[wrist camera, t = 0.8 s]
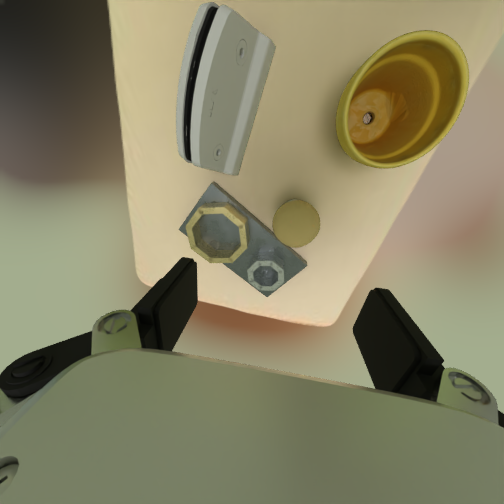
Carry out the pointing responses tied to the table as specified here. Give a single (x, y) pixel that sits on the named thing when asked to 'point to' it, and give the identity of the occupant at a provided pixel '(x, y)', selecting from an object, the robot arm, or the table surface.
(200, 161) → the white rounded block
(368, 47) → the table surface
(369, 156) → the plant pot
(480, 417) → the robot arm
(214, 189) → the fitting plate
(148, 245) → the table surface
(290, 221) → the light bulb
